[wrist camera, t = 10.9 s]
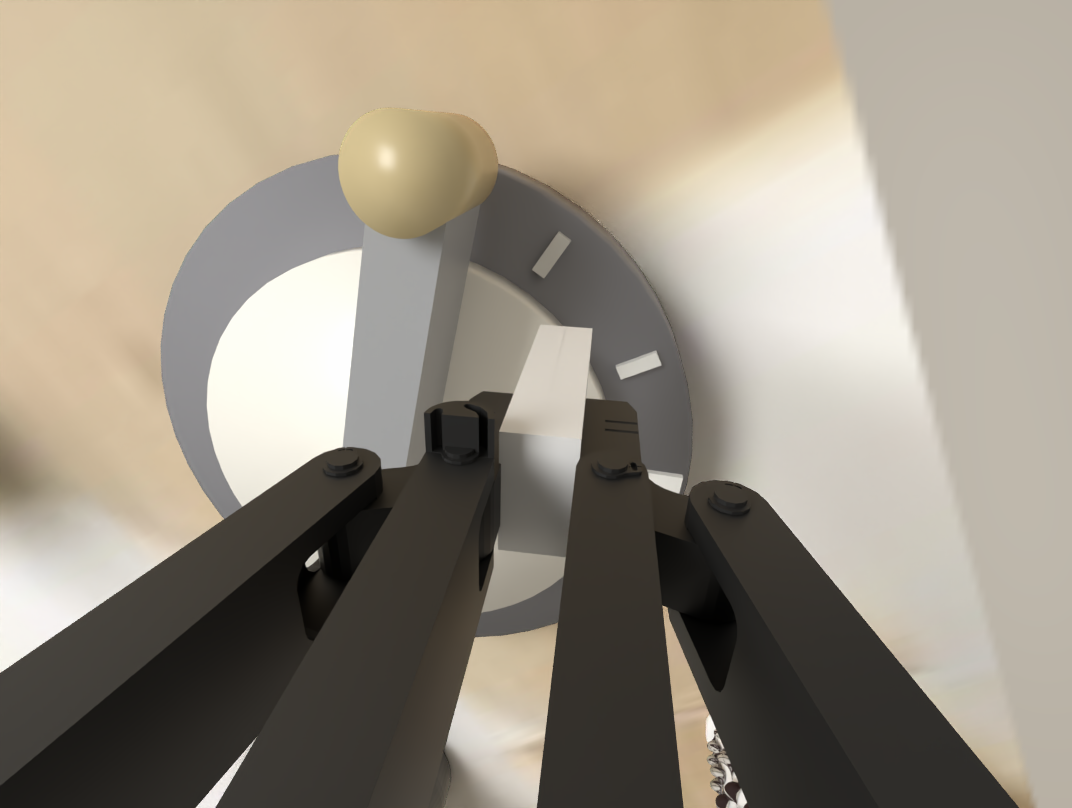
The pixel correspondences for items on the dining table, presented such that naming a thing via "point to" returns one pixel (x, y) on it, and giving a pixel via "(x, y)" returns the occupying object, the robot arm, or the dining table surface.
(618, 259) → the dial base
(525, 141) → the dining table surface
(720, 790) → the decorative candle
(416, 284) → the dial
